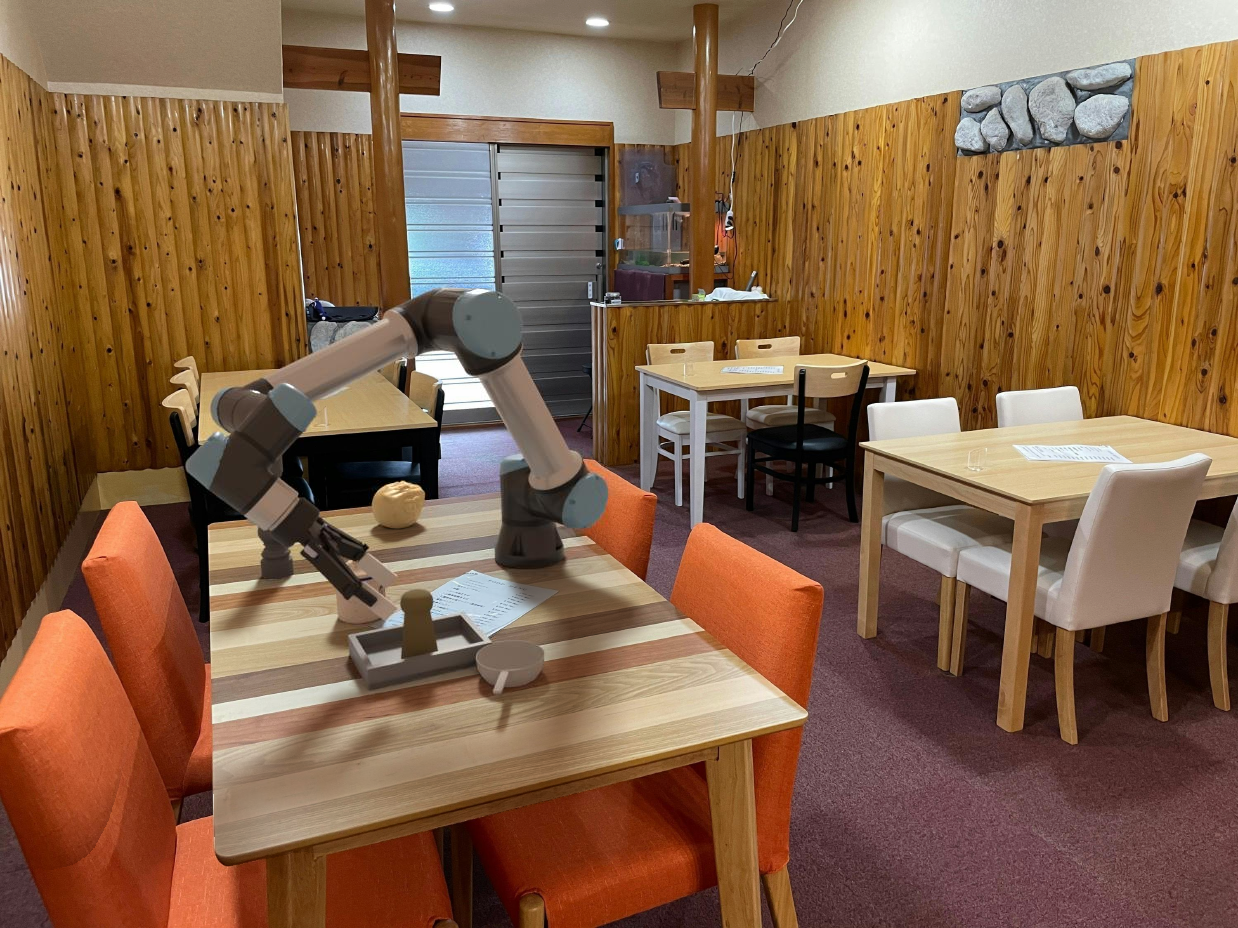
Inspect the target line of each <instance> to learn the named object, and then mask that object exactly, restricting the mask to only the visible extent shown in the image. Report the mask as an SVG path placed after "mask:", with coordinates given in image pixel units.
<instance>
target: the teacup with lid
mask: <svg viewBox="0 0 1238 928" xmlns="http://www.w3.org/2000/svg"><path fill="white" fill-rule="evenodd" d="M357 562H358V560H357ZM357 562H355V561H352V560H349V559H348V561H347V562H346V561H345V563H346V564H347V565H348V566H349V568H350V569H351V570H352V571H353V572H354V574H355V575H356V576H357V577H358V578H359V580H360V581H361V582H362V583H363V582H364V581H365V582H366V583H367V584H369V585H370V586H371V587H373V588H374V589H375V590H377V591H378V592H379V593H380V594H382V595H383V596H384V597H386V588H385V587H383V586H382V585H381V584H379V583H378V582H377V581H376V580H374V579H373V578H372V577H370V576H369V575H368V574H366V573H365V572H364V571H363V570H361V569H360V568H359V567H357V566H356V563H357ZM335 596H336V608H337V611H336V612H337V617H338V619H339V620H340V621H342V622H343V623H347V624H354V625H355V624H367V623H371V622H375V621H378V620H380V619H381V618H380V617H379V616H378V615H376V614H375V613H374V612H372V611H371V610H370V609H368V608H367V607H366V606H364V605H363V604H362V603H361V602H359V601H358V600H357V599H355V598H354V597H353V596H352V597H351V598H350V599H349V600H346V599H345V598H344V597H343V595H342V594H341V593H340V592H339V591H338V590H337V589H336V588H335ZM386 598H387V597H386Z"/></svg>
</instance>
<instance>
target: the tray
mask: <svg viewBox="0 0 1238 928" xmlns="http://www.w3.org/2000/svg"><path fill="white" fill-rule="evenodd" d="M432 622H433V627H434V632H435V637H436V642H437V647H438V651H437V652H432V653H427V654H423V655H418V656H414V657H409V658H404V659H401V650H402V638H403V625H404V623H401V624H396V625H392V626H391V625H390V626H386V627H382V628H377V629H372V630H371V629H370V630H367V631H361V632H357V633H350V634H348V635H347V641H348V642H347V643H348V654H349V656H350V658H351V659H352V662H353V664H354V665H355V667H356V669H357V671H358V673H359V675H360V676H361V678H362V680H363V682H364V684H365V685H366V687H367V690H368V691H372V690H377V689H382V688H386V687H390V686H395V685H399V684H403V683H408V682H411V681H417V680H421V679H425V678H429V677H434V676H437V675H444V674H447V673H452V672H456V671H460V670H464V669H469V668H473V667H477V663H476V654H477V653H478V651H479V650H480V649H482V648H483V647H485V646H487V645H490V644H492V643H493V641H492V640H491V639H490V638H489V637H488V635H486V634H485V633H484V632H483V630H481V628H480V627H479V626H478V625H477V624H476V622H474V621H473V620H472V618H471V617H470V616H468V614H467V613H466V612H465V611H462V612H456V613H452V614H447V615H442V616H436V617H432Z"/></svg>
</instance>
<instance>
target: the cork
mask: <svg viewBox="0 0 1238 928" xmlns="http://www.w3.org/2000/svg"><path fill="white" fill-rule="evenodd" d="M433 597H434V596H433V594H431V592H430V591H429V590H427V589H421V588H420V589H419V588H417V589H416V588H415V589H410V590H407V591H406V592H404V593H403V594H402V596H401V597H400V602H399V603H400V604H399V605H400V606H399V607H400V609H401V611H402V612H403V624H404V625H403V638H402V650H401V659H404V658H409V657H414V656H418V655H423V654H427V653H432V652H437V651H438V647H437V642H436V637H435V632H434V627H433V622H432V618H433V617H432V609H433V606H434V598H433Z"/></svg>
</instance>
